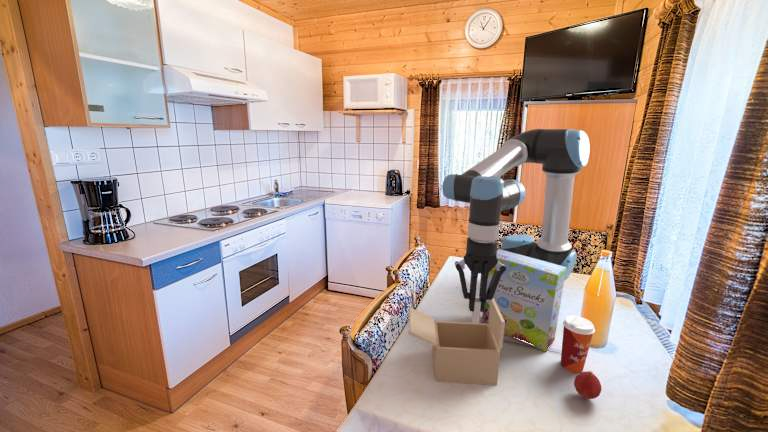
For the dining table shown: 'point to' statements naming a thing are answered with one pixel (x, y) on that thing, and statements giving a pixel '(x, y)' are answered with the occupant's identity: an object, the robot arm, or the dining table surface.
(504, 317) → the snack box
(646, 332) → the dining table surface
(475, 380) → the carton
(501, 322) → the flap
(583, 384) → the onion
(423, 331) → the flap
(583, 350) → the paper cup
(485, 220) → the robot arm
